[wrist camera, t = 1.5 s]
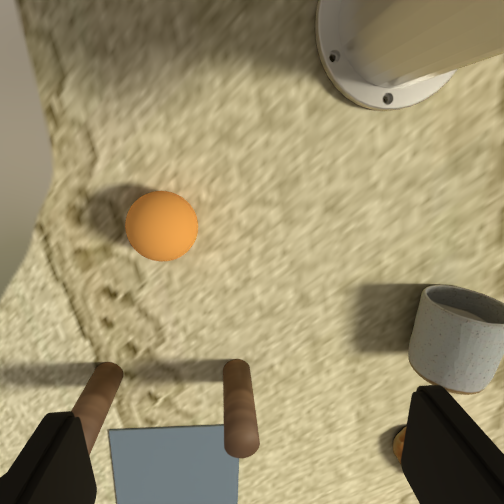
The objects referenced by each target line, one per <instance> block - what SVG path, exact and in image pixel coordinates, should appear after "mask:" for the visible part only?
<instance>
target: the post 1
mask: <svg viewBox="0 0 504 504" xmlns="http://www.w3.org/2000/svg"><path fill="white" fill-rule="evenodd" d="M122 378H123V371H122V369H121V368H120V367H119V366H118V365H117V364H114V363H111V362H105V363H102V364H100V365H98V366H97V367H96V369H95V371H94V372H93V374H92V376H91V378H90V379H89V381H88V383H87V385H86V386H85V388H84V390H83V392H82V393H81V395H80V397H79V399H78V400H77V402H76V404H75V405H74V407H73V409H72V412H73V413H74V416H75V417H79V418H80V420H81V423H82V428H83V432H84V436H85V440H86V444H87V449H88V453H89V455H90V453H91V450H92V448H93V446H94V443H95V441H96V439H97V436H98V434H99V432H100V429H101V427H102V425H103V422H104V420H105V418H106V416H107V413H108V411H109V409H110V406H111V404H112V402H113V399H114V397H115V395H116V392H117V390H118V388H119V385H120V383H121V381H122Z"/></svg>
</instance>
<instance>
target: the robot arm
mask: <svg viewBox="0 0 504 504" xmlns="http://www.w3.org/2000/svg"><path fill="white" fill-rule="evenodd" d="M315 32H316V44H317V48H318V52H319V56H320V60H321V63H322V65H323V67H324V69H325V72H326V74H327V76H328V77H329V79H330V80H331V82H332V83H333V84H334V86H335V87H336V88H337V89H338V90H339V91H340V92H341V93H342V94H343V95H344V96H345V97H346V98H348V99H349V100H351V101H352V102H354V103H356V104H357V105H360V106H363V107H365V108H368V109H371V110H381V111H389V110H398V109H402V108H406V107H410V106H413V105H415V104H417V103H420V102H422V101H424V100H426V99H427V98H429V97H430V96H432V95H433V94H435V93H436V92H438V91H439V90H440V89H441V88H442V87H443V86H444V85H445V84H446V83H447V82H448V81H449V80H450V79H451V77H452V76H453V75H454V74H455V72H456V71H457V70H458V69H459V68H462V67H465V66H468V65H471V64H474V63H476V62H479V61H482V60H485V59H488V58H491V57H494V56H497V55H500V54H503V53H504V0H318V5H317V9H316V21H315ZM330 56H333V58H334V61H333V62H331V61H330V59H329V57H330ZM383 97H384V98H385V103H384V102H383ZM401 466H402V470H403V473H404V475H405V477H406V479H407V481H408V482H409V484H410V486H411V488H412V490H413V492H414V494H415V495H416V497H417V499H418V501H419V503H420V504H504V454H503V453H502V452H501V451H500V450H499V448H498V447H497V446H496V445H495V444H494V443H493V442H492V441H491V440H490V438H489V437H488V436H487V435H486V434H485V433H484V432H483V431H482V429H481V428H480V427H479V426H478V425H477V424H476V423H475V422H474V421H473V419H472V418H471V417H470V416H469V415H468V414H467V413H466V412H465V410H464V409H463V408H462V407H461V406H460V405H459V404H458V403H457V402H456V400H455V399H454V398H453V397H452V396H451V395H450V394H449V393H448V391H447V390H446V389H445V388H444V387H443V386H441V385H428V386H419V387H418V388H417V391H416V392H413V394H412V397H411V403H410V409H409V415H408V421H407V427H406V433H405V439H404V444H403V450H402V456H401ZM96 493H97V487H96V482H95V478H94V474H93V470H92V465H91V461H90V457H89V453H88V449H87V444H86V440H85V436H84V432H83V428H82V423H81V420H80V418H79V417H75V416H74V413H73V412H72V411H68V412H54V413H48V414H46V415H45V417H44V418H43V419H42V421H41V422H40V424H39V425H38V427H37V428H36V430H35V431H34V433H33V434H32V436H31V437H30V439H29V440H28V442H27V443H26V445H25V446H24V448H23V449H22V451H21V452H20V454H19V455H18V457H17V458H16V460H15V461H14V463H13V464H12V466H11V467H10V469H9V470H8V472H7V473H6V474H4V475H3V476H2V477H0V504H94V503H95V499H96Z"/></svg>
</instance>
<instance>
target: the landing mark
mask: <svg viewBox="0 0 504 504" xmlns="http://www.w3.org/2000/svg"><path fill="white" fill-rule="evenodd" d="M109 436H110V444H111V453H112V462H113V470H114V479H115V488H116V496H117V504H237V502H238V473H239V458H235V457H232V456H230V455H229V454H227V452H226V451H225V449H224V425H201V426H178V427H155V428H131V429H110V430H109Z"/></svg>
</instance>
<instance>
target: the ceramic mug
mask: <svg viewBox="0 0 504 504" xmlns="http://www.w3.org/2000/svg"><path fill="white" fill-rule="evenodd" d="M503 354H504V303H502V302H500V301H498V300H496V299H494V298H492V297H489V296H487V295H485V294H482V293H478V292H476V291H472V290H469V289H465V288H461V287H454V286H447V285H433V286H428V287H426V288H425V289H424V290H423V292H422V294H421V299H420V304H419V307H418V310H417V315H416V319H415V323H414V328H413V332H412V335H411V338H410V342H409V350H408V357H409V362H410V364H411V366H412V368H413V369H414V370H415V371H416V372H417V374H418V375H419V376H421V377H422V378H423V379H424V380H426V381H427V382H429V383H430V384H432V385H441V386H443V387H444V388H445V389H446V390H447V391H448V392H451V393H456V394H464V395H469V394H476V393H479V392H481V391H482V390H484V389H485V387H486V386H487V385H488V384H489V383H490V381H491V380H492V378H493V377H494V374H495V372H496V370H497V368H498V366H499V363H500V361H501V358H502V356H503Z"/></svg>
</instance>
